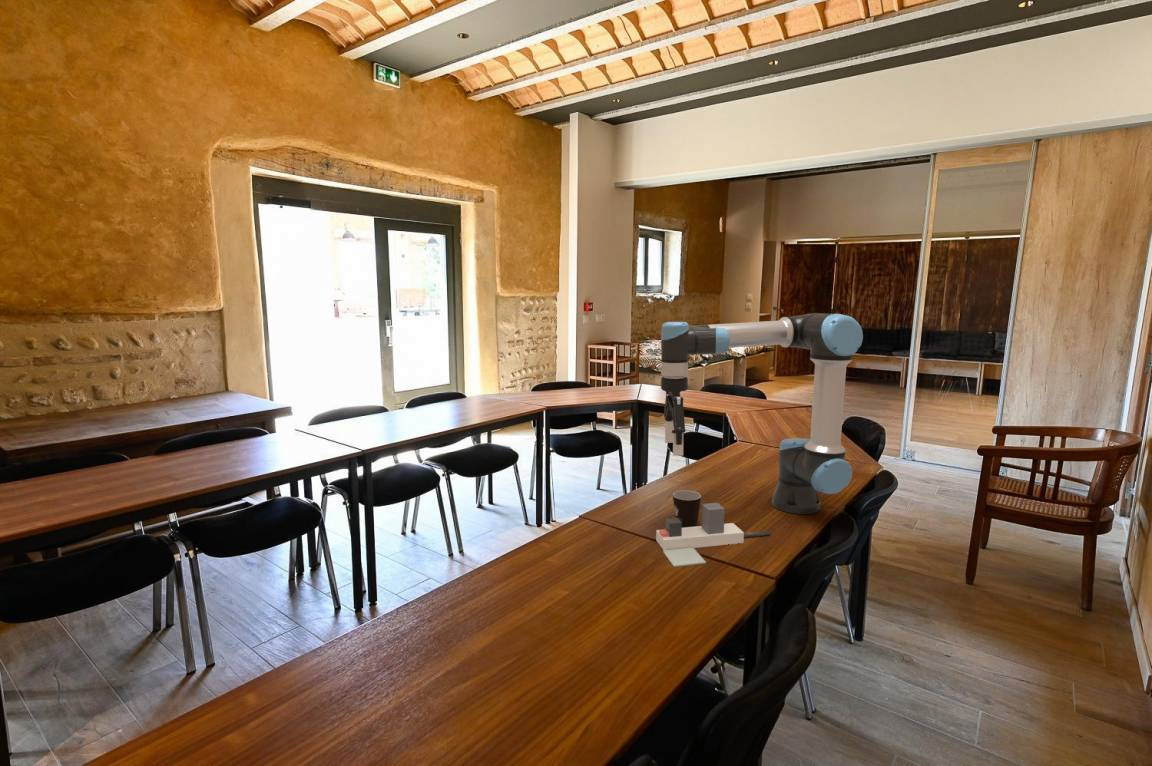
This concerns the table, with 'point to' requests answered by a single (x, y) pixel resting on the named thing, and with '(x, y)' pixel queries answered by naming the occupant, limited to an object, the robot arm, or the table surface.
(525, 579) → the table surface
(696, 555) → the pad
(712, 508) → the block
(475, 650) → the table surface
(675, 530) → the strip
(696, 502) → the coffee mug
